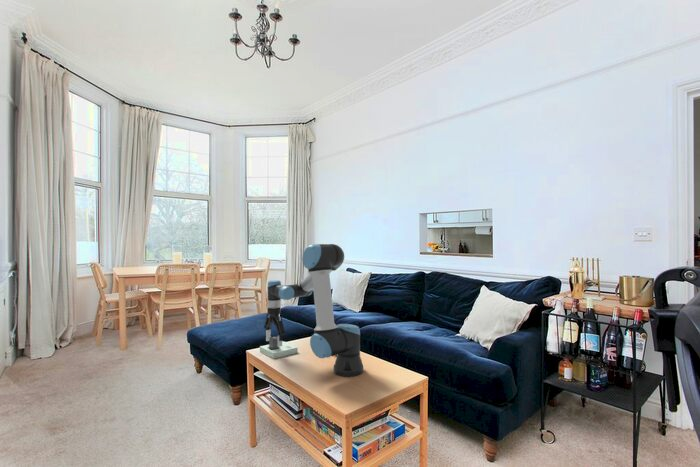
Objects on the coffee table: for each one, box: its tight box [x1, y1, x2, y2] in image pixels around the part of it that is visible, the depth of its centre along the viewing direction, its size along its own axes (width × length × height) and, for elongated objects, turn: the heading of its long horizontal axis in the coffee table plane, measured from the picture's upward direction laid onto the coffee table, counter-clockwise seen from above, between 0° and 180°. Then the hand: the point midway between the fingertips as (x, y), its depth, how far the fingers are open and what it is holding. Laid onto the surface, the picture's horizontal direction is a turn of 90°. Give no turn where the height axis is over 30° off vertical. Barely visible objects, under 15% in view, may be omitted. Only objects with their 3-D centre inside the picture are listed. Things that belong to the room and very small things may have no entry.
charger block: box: [268, 336, 279, 350], centre depth 206 cm, size 4×4×9 cm
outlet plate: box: [259, 340, 299, 359], centre depth 208 cm, size 16×16×3 cm
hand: (274, 343), depth 206 cm, fingers open, 13 cm apart
